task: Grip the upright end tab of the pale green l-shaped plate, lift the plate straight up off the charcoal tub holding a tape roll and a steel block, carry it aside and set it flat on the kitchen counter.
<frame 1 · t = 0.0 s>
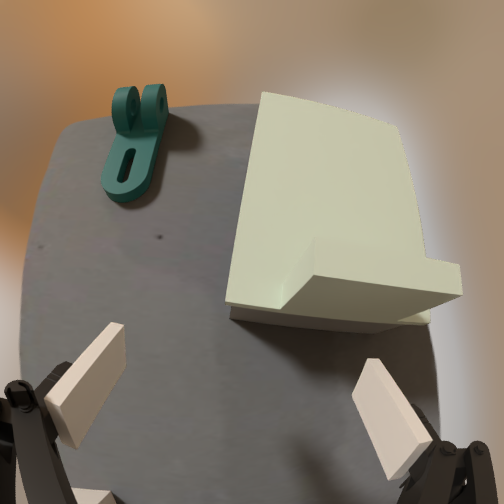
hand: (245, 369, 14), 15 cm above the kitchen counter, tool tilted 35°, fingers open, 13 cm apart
tub: (312, 231, 35), on the kitchen counter
bracket: (137, 153, 38), on the kitchen counter
pale green l-shaped plate: (338, 190, 26), point 9 cm above the kitchen counter, touching tub
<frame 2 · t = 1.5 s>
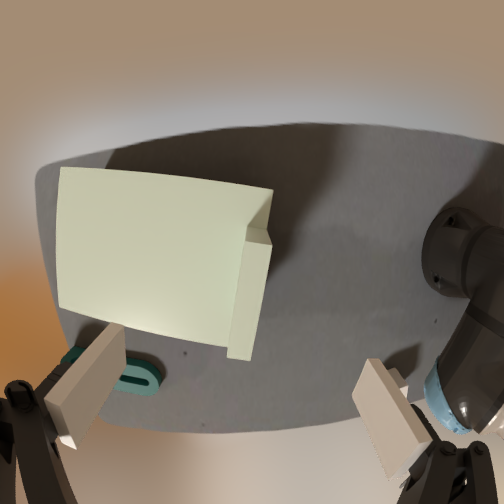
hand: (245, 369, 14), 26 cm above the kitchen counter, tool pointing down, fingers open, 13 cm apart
white cube: (380, 382, 45), on the kitchen counter
bracket: (117, 368, 44), on the kitchen counter
pale green l-shaped plate: (146, 254, 30), point 9 cm above the kitchen counter, touching tub
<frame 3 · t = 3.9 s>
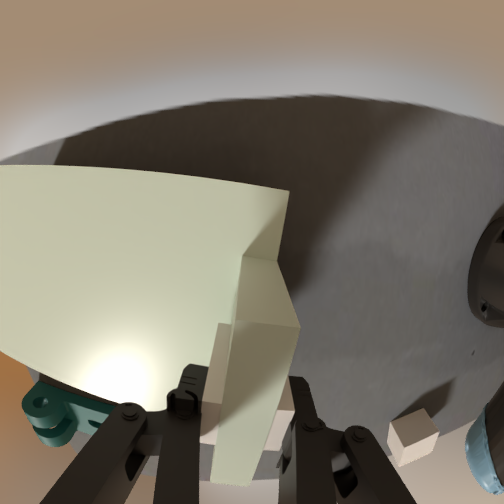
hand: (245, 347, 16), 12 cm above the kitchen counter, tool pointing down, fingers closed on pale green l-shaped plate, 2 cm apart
white cube: (404, 425, 33), on the kitchen counter
bracket: (88, 410, 32), on the kitchen counter
pale green l-shaped plate: (89, 294, 18), point 9 cm above the kitchen counter, touching gripper, tub
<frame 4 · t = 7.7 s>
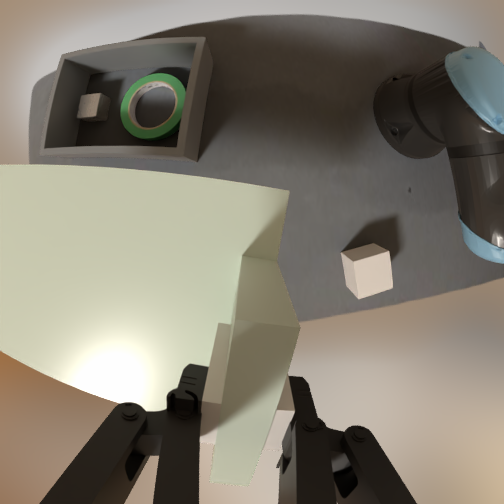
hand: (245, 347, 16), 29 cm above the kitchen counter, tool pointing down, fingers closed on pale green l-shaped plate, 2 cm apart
steel block: (99, 110, 38), resting in tub
tape roll: (157, 108, 39), resting in tub
tub: (134, 108, 38), on the kitchen counter
white cube: (359, 264, 45), on the kitchen counter
pale green l-shaped plate: (89, 294, 18), point 26 cm above the kitchen counter, touching gripper
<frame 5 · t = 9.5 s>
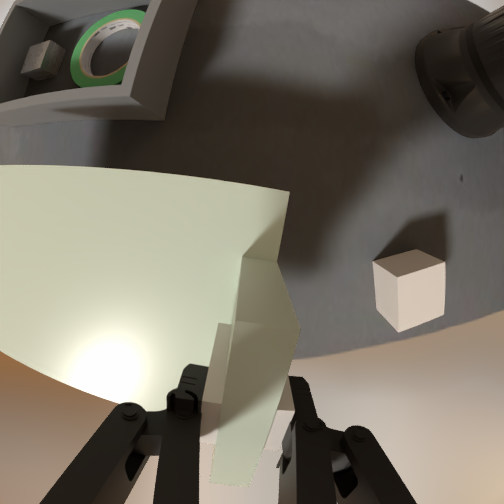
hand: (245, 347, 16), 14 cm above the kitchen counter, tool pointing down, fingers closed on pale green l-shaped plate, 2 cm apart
steel block: (51, 65, 23), resting in tub
tape roll: (119, 55, 24), resting in tub
tub: (90, 57, 23), on the kitchen counter
white cube: (396, 278, 30), on the kitchen counter
pale green l-shaped plate: (89, 295, 18), point 11 cm above the kitchen counter, touching gripper
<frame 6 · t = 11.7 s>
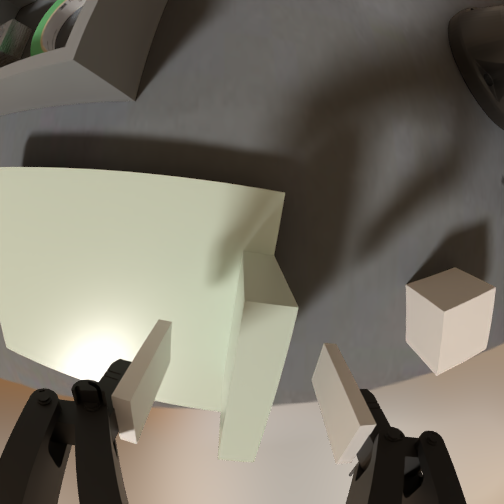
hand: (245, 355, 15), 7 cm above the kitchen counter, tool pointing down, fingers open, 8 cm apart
steel block: (16, 48, 15), resting in tub
tape roll: (88, 28, 16), resting in tub
tub: (56, 34, 16), on the kitchen counter
white cube: (430, 303, 22), on the kitchen counter
pale green l-shaped plate: (98, 289, 19), point 2 cm above the kitchen counter, touching bracket
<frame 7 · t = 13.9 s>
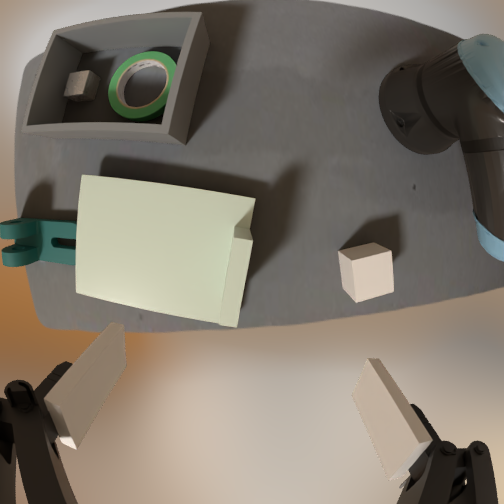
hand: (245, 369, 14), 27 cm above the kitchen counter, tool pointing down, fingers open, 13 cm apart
steel block: (88, 89, 34), resting in tub
tape roll: (147, 88, 35), resting in tub
tub: (123, 87, 34), on the kitchen counter
white cube: (357, 264, 41), on the kitchen counter
bracket: (54, 238, 39), on the kitchen counter
pale green l-shaped plate: (154, 248, 38), point 2 cm above the kitchen counter
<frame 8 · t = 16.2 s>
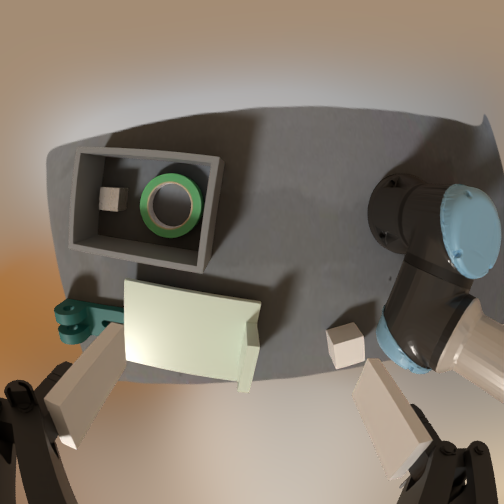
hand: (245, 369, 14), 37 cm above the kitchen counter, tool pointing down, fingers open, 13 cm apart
steel block: (118, 198, 47), resting in tub
tape roll: (173, 204, 48), resting in tub
tub: (152, 202, 48), on the kitchen counter
white cube: (341, 337, 54), on the kitchen counter
bracket: (102, 317, 53), on the kitchen counter, touching pale green l-shaped plate
pale green l-shaped plate: (187, 333, 51), point 2 cm above the kitchen counter, touching bracket
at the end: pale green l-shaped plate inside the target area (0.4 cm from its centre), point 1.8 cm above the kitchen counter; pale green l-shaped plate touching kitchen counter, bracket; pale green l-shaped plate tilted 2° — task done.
